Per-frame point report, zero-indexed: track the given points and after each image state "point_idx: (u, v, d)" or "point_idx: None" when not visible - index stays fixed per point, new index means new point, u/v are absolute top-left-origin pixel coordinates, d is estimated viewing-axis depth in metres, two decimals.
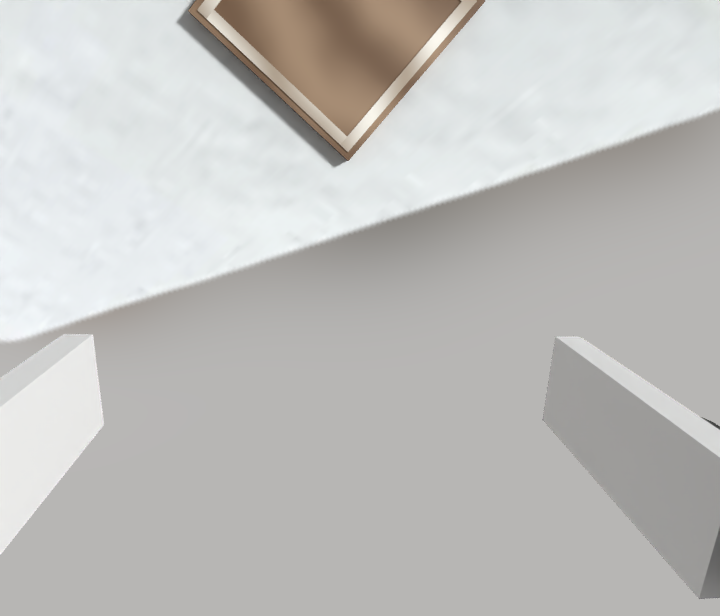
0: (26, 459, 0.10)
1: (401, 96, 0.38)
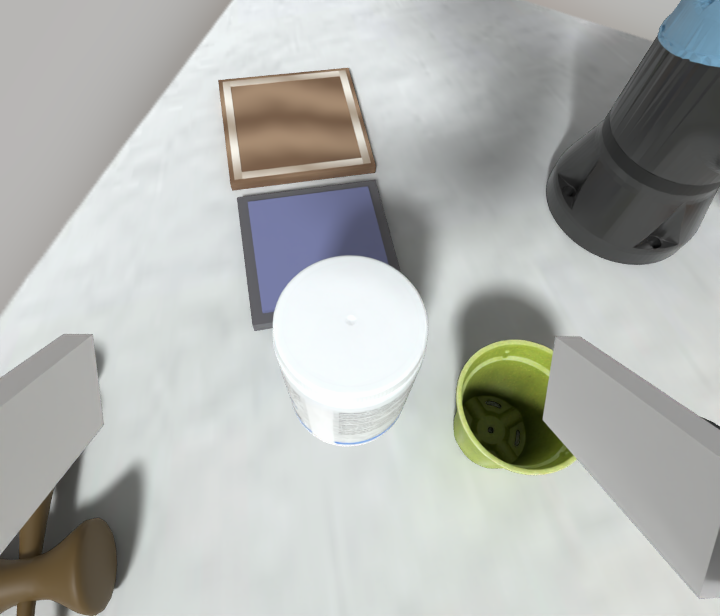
0: (26, 459, 0.10)
1: (224, 119, 0.54)
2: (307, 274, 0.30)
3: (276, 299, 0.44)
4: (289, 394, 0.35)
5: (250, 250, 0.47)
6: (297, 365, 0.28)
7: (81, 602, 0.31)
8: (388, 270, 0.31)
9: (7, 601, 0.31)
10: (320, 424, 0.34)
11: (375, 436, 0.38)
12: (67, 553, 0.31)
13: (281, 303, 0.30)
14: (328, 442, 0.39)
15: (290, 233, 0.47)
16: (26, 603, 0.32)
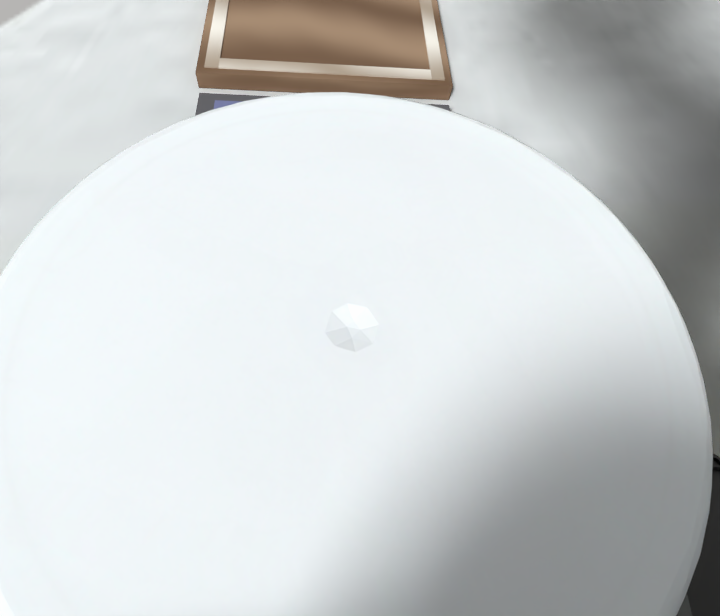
0: None
1: None
2: (217, 125, 0.08)
3: None
4: None
5: None
6: (8, 522, 0.05)
7: None
8: (530, 163, 0.08)
9: None
10: None
11: None
12: None
13: (70, 206, 0.07)
14: None
15: None
16: None
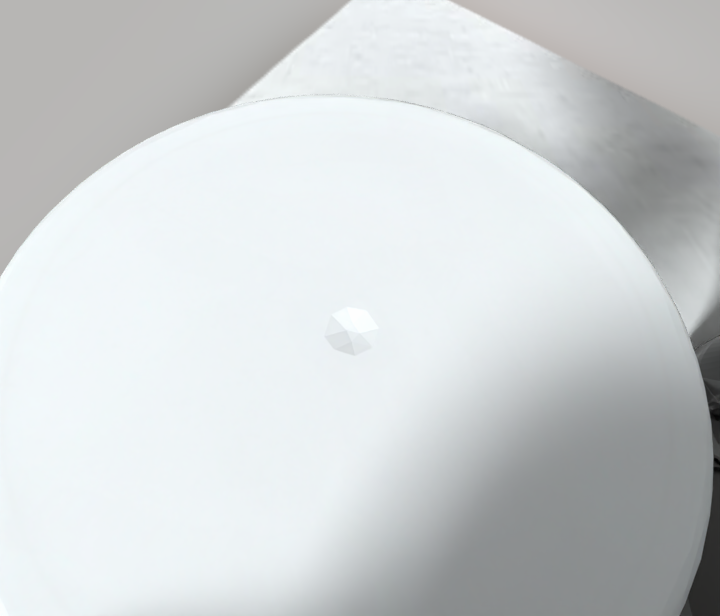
0: None
1: None
2: (217, 128, 0.08)
3: None
4: None
5: None
6: (6, 527, 0.05)
7: None
8: (531, 166, 0.08)
9: None
10: None
11: None
12: None
13: (69, 209, 0.07)
14: None
15: None
16: None
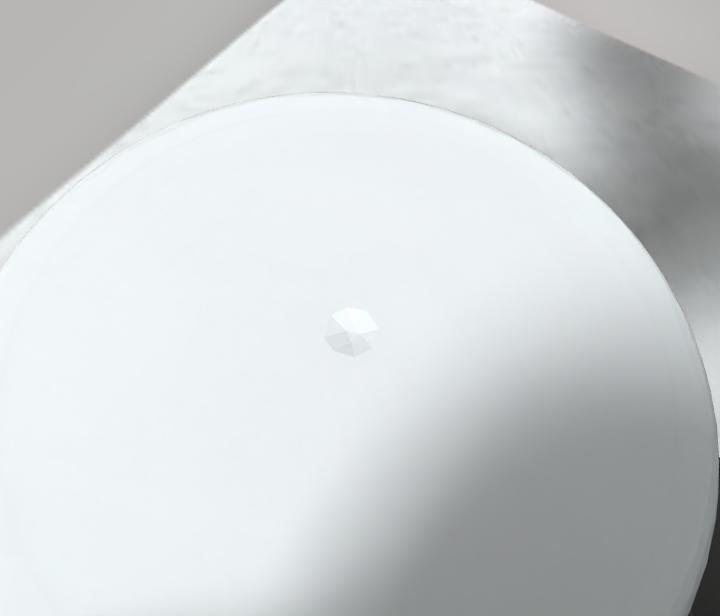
0: None
1: None
2: (215, 126, 0.08)
3: None
4: None
5: None
6: (0, 531, 0.05)
7: None
8: (533, 164, 0.08)
9: None
10: None
11: None
12: None
13: (65, 208, 0.07)
14: None
15: None
16: None
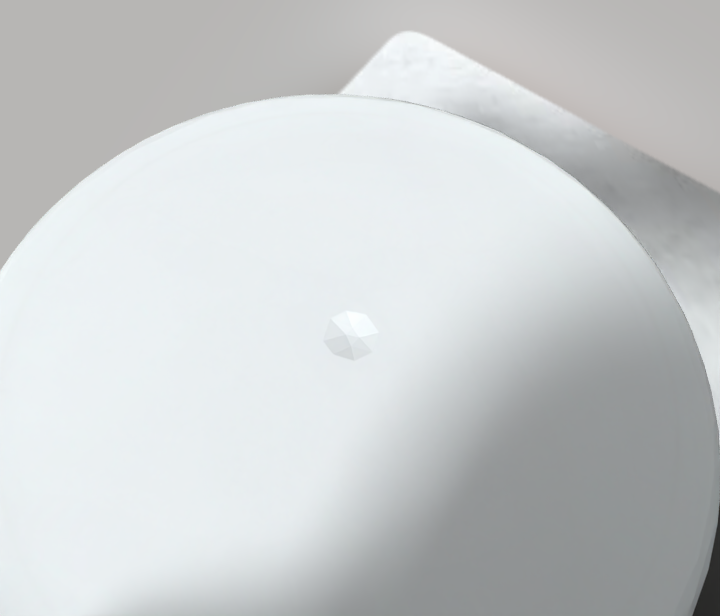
0: None
1: None
2: (215, 128, 0.08)
3: None
4: None
5: None
6: None
7: None
8: (533, 166, 0.08)
9: None
10: None
11: None
12: None
13: (64, 211, 0.07)
14: None
15: None
16: None
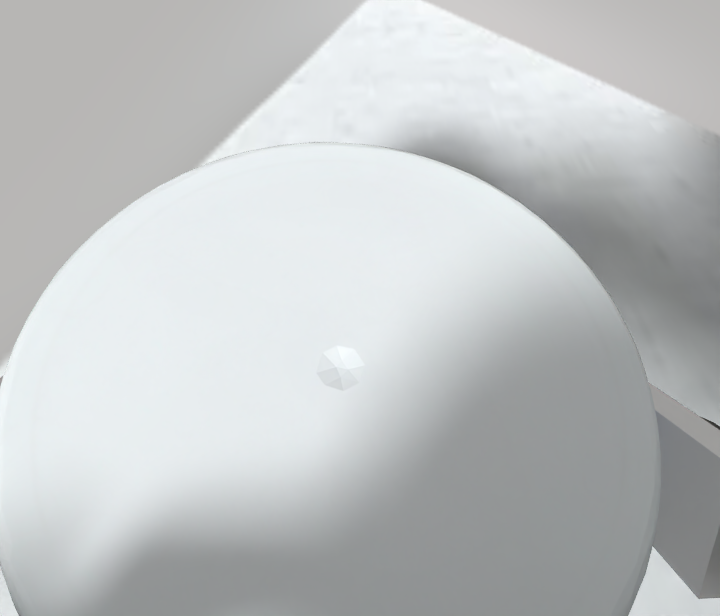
0: None
1: None
2: (220, 176, 0.09)
3: None
4: None
5: None
6: (39, 545, 0.06)
7: None
8: (506, 210, 0.09)
9: None
10: None
11: None
12: None
13: (87, 255, 0.08)
14: None
15: None
16: None
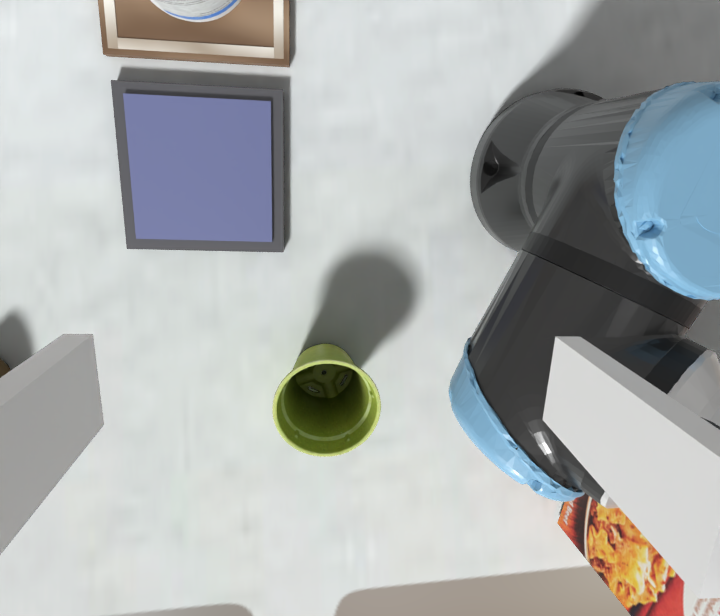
0: (26, 459, 0.10)
1: None
2: None
3: (150, 228, 0.44)
4: None
5: (126, 160, 0.43)
6: None
7: None
8: None
9: None
10: None
11: (205, 15, 0.38)
12: None
13: None
14: (161, 9, 0.39)
15: (171, 150, 0.43)
16: None
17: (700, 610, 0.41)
